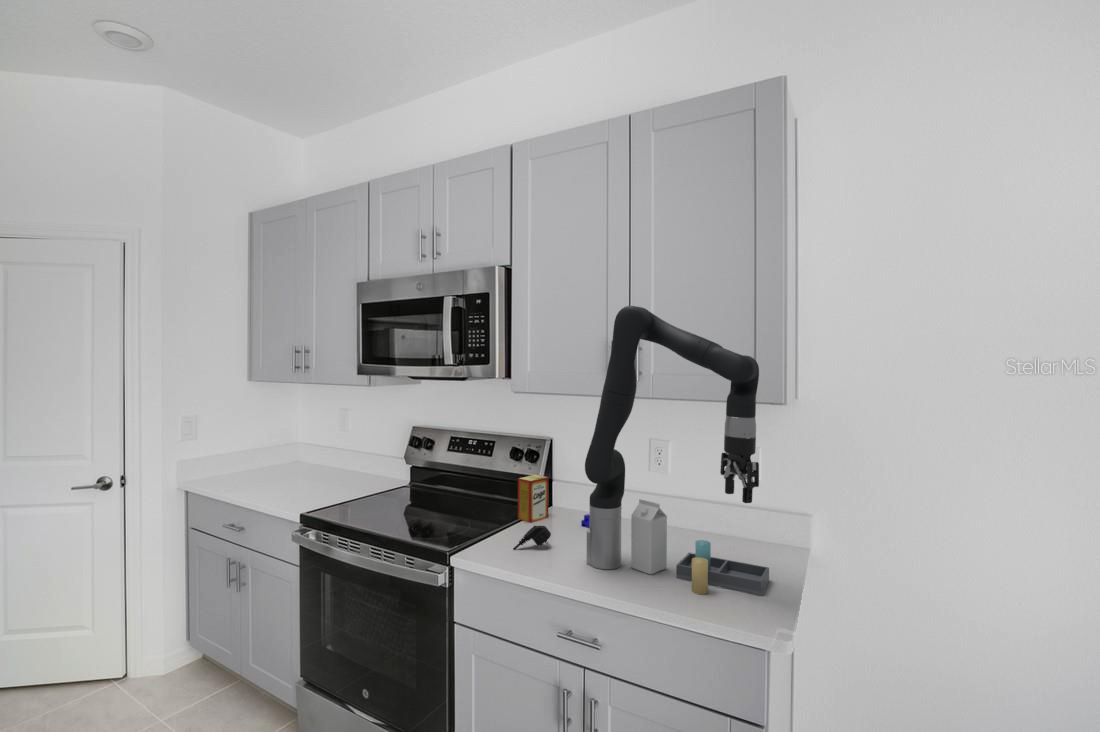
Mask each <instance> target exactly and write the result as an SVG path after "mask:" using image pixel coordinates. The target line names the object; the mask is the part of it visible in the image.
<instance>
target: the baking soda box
mask: <svg viewBox="0 0 1100 732" xmlns="http://www.w3.org/2000/svg"><path fill="white" fill-rule="evenodd" d="M518 518H519V519H521V520H520V521H523V522H525V523H529V524H531V523H534V522H538V521H542V520H545V519H548V518H549V476H545V475H540V474H533V475H527V476H524V477H519V478H517V519H518ZM519 519H518V520H519Z"/></svg>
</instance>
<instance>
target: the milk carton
mask: <svg viewBox="0 0 1100 732" xmlns="http://www.w3.org/2000/svg"><path fill="white" fill-rule="evenodd" d="M630 523H631V524H630V525H631V531H630V532H631V533H630V536H631V538H630V539H631V547H630V549H631V557H630V558H631V560H630V562H631V565H630V566H631V568H632V569H635V570H638V571H640V572H642V573H645V574H648V575H654V574H656V573H658V572H660V571H661V572H662V571H663V570H666V569H667V568H668V567H667V562H668V561H667V560H668V559H667V557H668V556H667V552H668V550H667V547H668V545H667V543H668V542H667V541H668V539H667V538H668V533H667V532H668V529H667V528H668V527H667V526H668V515H667V514H666V513H665V512H664V511H663V510H662V508H660V503H657V502H654V501H649V500H644V499H641V498H640V499H639V502H638V503H637V505H636V507H635V509H634V511H633V513H631V522H630Z"/></svg>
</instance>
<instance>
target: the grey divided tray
mask: <svg viewBox="0 0 1100 732" xmlns="http://www.w3.org/2000/svg"><path fill="white" fill-rule="evenodd" d="M692 558H695V553H694V552H693V553H691V552H688V553H687V554H686V555H685V556H684V557H683V558H682V559H681V560H680V561H679V562H678V563H677V564H676V573H675V574H676V575H675V576H676V577H675V578H677V579H680V580H686V581H691V582H692ZM769 582H770V567H767V566H762V565H757V564H752V563H745V562H740V561H737V560H736V561H735V560H730V559H726V558H725V559H723V558H720V557H714V556H711V563H710V571H709V570H708V586H714V587H717V588H718V587H719V588H722V589H727V590H733V591H737V592H742V593H747V594H752V595H755V596H756V595H757V596H759V597H760V596H762V595H763V594H764V591H765V589H766V588H767V585H768V584H769Z"/></svg>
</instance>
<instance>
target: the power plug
mask: <svg viewBox="0 0 1100 732" xmlns="http://www.w3.org/2000/svg"><path fill="white" fill-rule="evenodd" d="M551 536H552V533H551V531H550V530H549V529H548V528H547V527H546V526H545V525H534V526H532V527H531V528H530V529H529V530H528V531H527V532H526V533H525V534H524V535H523V536H522V537H521V539H520V540H519V541H518V544H516V545H515V546H514V547H513V548H512V549H513V551H515V550H517V548H519V547H520V546H523V545H524V544H526V543H527V542H528V541H530V540H532V541H533V542H534V543H535V544H536V546H542V545H543V544H546V545H547V547H549V548H550V547H551V544H550V542H549V541H548V540H549V539H550V538H551Z"/></svg>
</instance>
